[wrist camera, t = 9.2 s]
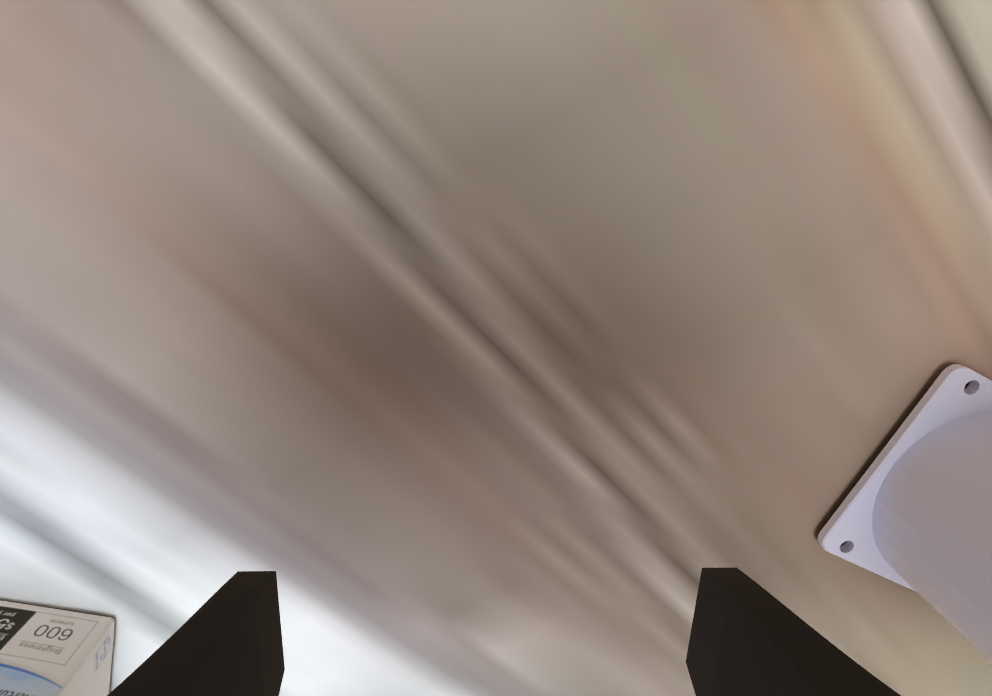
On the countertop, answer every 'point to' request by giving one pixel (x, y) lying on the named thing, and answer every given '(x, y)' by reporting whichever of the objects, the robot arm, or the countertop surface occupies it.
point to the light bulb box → (54, 652)
